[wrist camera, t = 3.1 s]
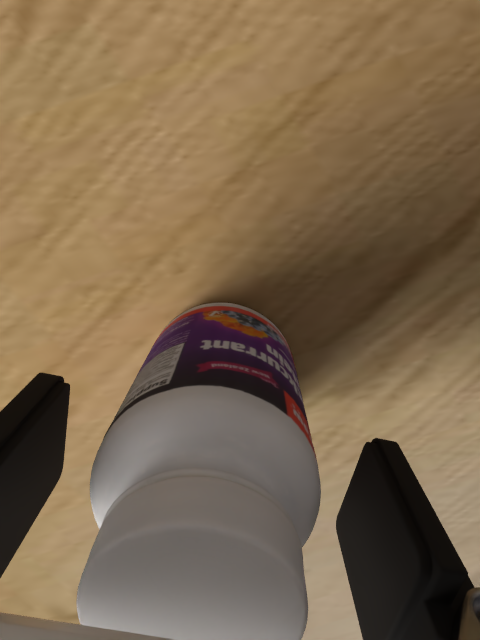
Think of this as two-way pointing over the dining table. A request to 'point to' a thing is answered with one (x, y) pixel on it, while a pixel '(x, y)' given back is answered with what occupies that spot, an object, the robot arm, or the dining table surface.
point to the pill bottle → (205, 488)
